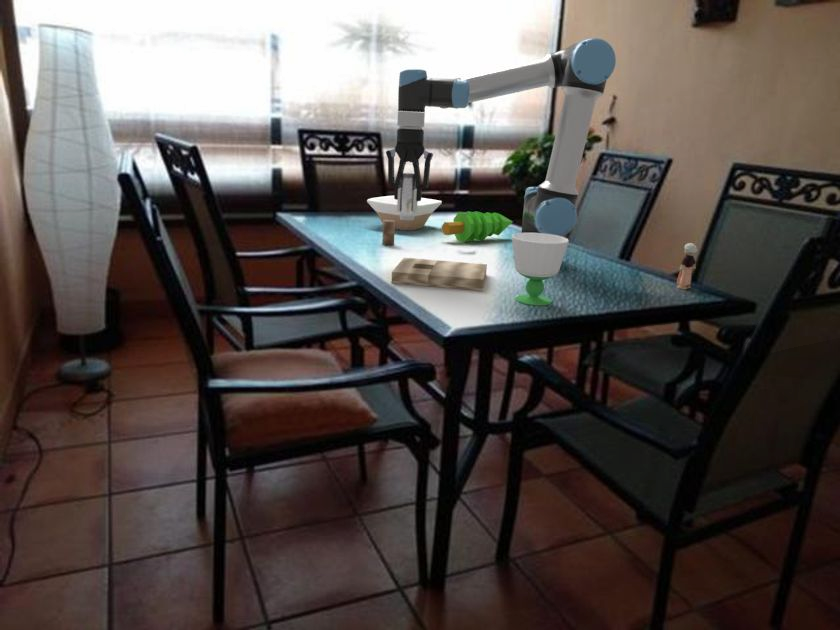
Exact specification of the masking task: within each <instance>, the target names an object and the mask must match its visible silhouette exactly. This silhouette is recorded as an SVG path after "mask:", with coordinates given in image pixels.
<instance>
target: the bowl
mask: <svg viewBox="0 0 840 630" xmlns="http://www.w3.org/2000/svg"><path fill="white" fill-rule="evenodd" d="M397 202H398V200H396V199H395V198H394V195H386V196H379V197H378V196H377V197H371V198H368V199H367V200H366V203H367V204H368V205H370V207H371V208H372V209H373V210H374V211H375V212H376V214H377V215H378V218H379V219H380V221H381V224H383V220H394V221H395V230H398V229H400V231H406V230H409V231H414V230H418V229H422V228H424V226H425V225H426V223H427V222H428V220H429V218H430V217H431V215H432V214H433V213H434V211H435V210H437V209H438V207H439V206H440V205H442V202H443V201H442V200H440V199H439V200H437V199H432V198H426V197H421V201H418V206H417V212H416V213H414V220H401V219H400V212H397Z"/></svg>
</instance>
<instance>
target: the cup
mask: <svg viewBox="0 0 840 630" xmlns="http://www.w3.org/2000/svg"><path fill="white" fill-rule="evenodd" d="M511 241H512V251H513V257H514V258H513V259H514V268H515V271H516V272H517V273H518V274H519V275H521V276H522V277H523V278H526V279H528V280H527V282H526V284H525V292H526V293H527V294H520V295H517V296H515V301H517V302H518V303H521V304H523V305H528V306H535V307H536V306H537V307H538V306H544V307H545V306H549V305H550V304H552V299H550V297H549V298H548V297H546V296H543V295H542V294H543V292H544V290H545V284H544V282H543V281H545V280H548V279H549V280H550V279H551V278H553V277H555V276H557V275H558V273H559V272H560V269H561V266H562V263H563V259H564V257H565V255H566V251H567V248H568V245H569V242H570V241H569V238H567V237H565V236H557V235H552V234H545V233H521V232H519V233H518V232H516V233H514V234H512V235H511Z"/></svg>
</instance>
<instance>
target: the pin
mask: <svg viewBox="0 0 840 630" xmlns="http://www.w3.org/2000/svg"><path fill="white" fill-rule="evenodd" d="M400 188H401V206H400V219H401V220H414V213H413V199H414V190H415V189H416V181H415V175H414V173H410V172H403V173H402V180H401V184H400Z"/></svg>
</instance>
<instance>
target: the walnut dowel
mask: <svg viewBox="0 0 840 630" xmlns="http://www.w3.org/2000/svg"><path fill="white" fill-rule="evenodd" d="M395 231H396V229H395V221H394V220H383V223H382V245H383V244H385V245H384V246H388V245H390V246H395Z"/></svg>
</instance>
